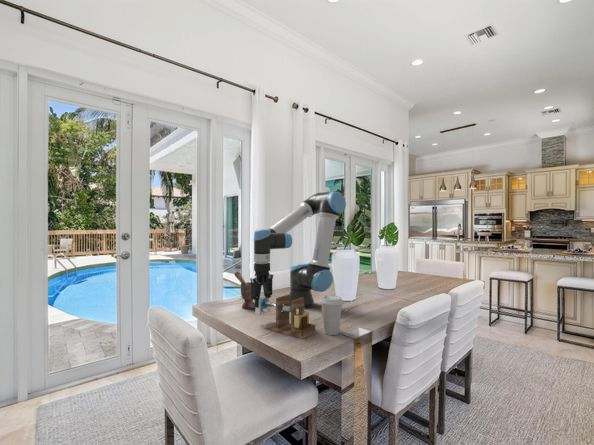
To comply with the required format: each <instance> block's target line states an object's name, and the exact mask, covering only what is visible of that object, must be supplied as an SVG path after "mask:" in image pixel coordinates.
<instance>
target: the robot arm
mask: <svg viewBox="0 0 594 445" xmlns="http://www.w3.org/2000/svg"><path fill="white" fill-rule="evenodd" d="M345 198H346V197H344V195H343V194H342V192H339V191H333V190H332V191H326V192H325V191H324V192H318V193H317V192H316V193H315V194H312V195H311V196H310V197H308V198H306V199H305V200H303V201H302V202H301V203H300V205H299V206H298V207H297V208H296V209H294V210H293V211H291V212H290V213H289V214H287V215H286V216H285V217H283V218H281V220H279V221H278V222H276V223H275V224H273V225H272V226H271V227H269V228H267V229H259V228H258V229H255V230H254V233H253V262H254V263H253V272H254V276H253V277H250V279H249V280H250V282H251V299H253V301H254V303H255V311H254V312H255V314H256V315H258V316H260V315H261V312H262V311H263V312H266V313H268V312H269V308H266V309H263V310H261V300H259V299H260V298H261V292H262V289H263V297H265V298H268V302H270V298H271V297H272V296H273V279H274V274H271V273H270V271H271V263H270V262H271V250H281V249H284V250H285V249H289V248H291V247H292V245H293V238H292V235H291V234H290V233H289V232H290V231H291V230H293V229H294V228H295V227H296V226H297V225H299V224H300V223H302V222H303V221H304V220H306V219H307V218H311V217H312V216H315V215H318V216H319V222H318V228H317V233H316V238H315V244H314V249H313V253H312V254H313V255H312V260H311V261H310V262H308V263H296V264H292V265H290V270H289V273H290V277H289V279H290V280H289V283H290V287H289V290H290V292H289V294H288V295H290V307H291V301H293V300H296V299H299V298H302V297H303V298H304V309H306V308H307V309H308V308H311V307H313V306H314V305H315V301H314V297H313V294H312V293H313V292H312V291H314V292H320V293H322V292H325V291H327V290H328V289H329V288H330V287H331V285H332V284H333V278H334V276H333V273H332V271H330V270H331V266H330V265H329V259H330V254H331V248H332V245H333V244H332V243H333V238H334V232H335V226H336V220H338V219H339V218H340V214H342V213H343V212H344V211H345V209H346V206H347V205H346V204H347V202H346V199H345ZM297 309H299V307H298V308H297Z"/></svg>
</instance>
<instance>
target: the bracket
mask: <svg viewBox="0 0 594 445" xmlns="http://www.w3.org/2000/svg"><path fill="white" fill-rule="evenodd" d="M275 304H276V309H275V322H272V323H270V324H268V325H265V326H264V329H266V330H269V331H272V332H277V333H279V334H283V335H286V336H289V337H290V336H291V337H295V338H297V339H301V340H303V339H304V338H306V337H309V336H311V335H312V334H314V333H316V332H317V330H316V324H314V323H310V322H309V327H308V328H306V329H304V330H298V329H294V315H296V314H297V309H298V313H300V312H303V311H305V308H304V298H303V297H302V298H299V299H296V300H293V301H291V313H290V312H286V311H282V305H285V306H290V295H289V294H285V295H283V296H282V295H281V296H279V297H278V296H277V297H276V299H275ZM298 307H299V308H298ZM301 326H303V317H302V318H301Z"/></svg>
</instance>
